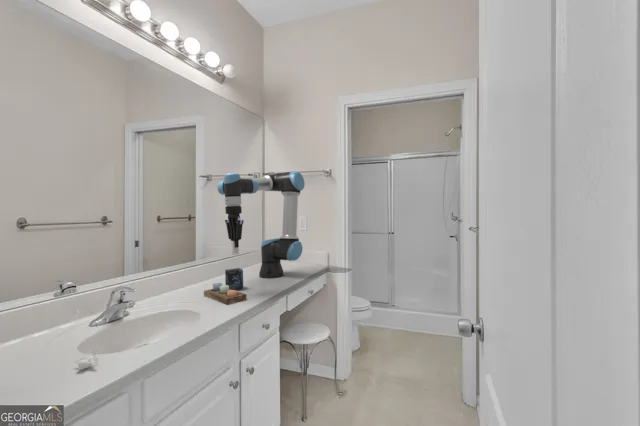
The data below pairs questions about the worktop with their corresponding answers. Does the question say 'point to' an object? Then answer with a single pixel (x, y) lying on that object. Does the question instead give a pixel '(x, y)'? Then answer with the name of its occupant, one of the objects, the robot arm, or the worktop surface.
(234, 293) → the plunger terracotta
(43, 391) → the worktop surface
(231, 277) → the box
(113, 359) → the worktop surface
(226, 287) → the plunger sage
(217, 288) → the plunger slate
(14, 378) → the worktop surface
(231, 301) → the wooden tray
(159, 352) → the worktop surface
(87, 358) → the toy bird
